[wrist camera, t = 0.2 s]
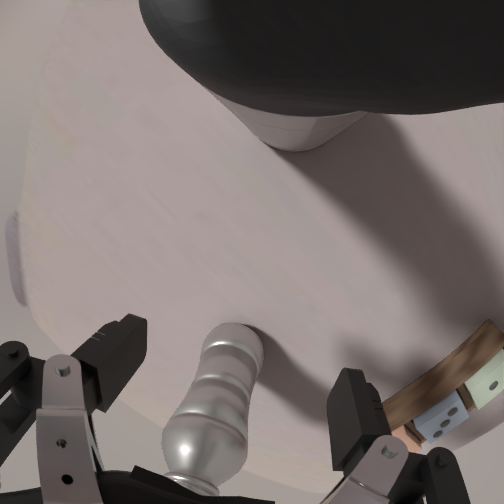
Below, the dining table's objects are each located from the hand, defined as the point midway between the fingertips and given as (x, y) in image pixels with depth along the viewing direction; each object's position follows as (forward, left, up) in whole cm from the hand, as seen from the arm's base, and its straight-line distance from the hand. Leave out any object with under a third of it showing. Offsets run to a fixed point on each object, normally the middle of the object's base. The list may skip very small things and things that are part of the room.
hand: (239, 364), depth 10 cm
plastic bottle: (+12, -1, -17) cm, 21 cm away
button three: (+15, +27, -14) cm, 34 cm away
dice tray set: (+15, +27, -17) cm, 35 cm away
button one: (+8, +31, -14) cm, 35 cm away
